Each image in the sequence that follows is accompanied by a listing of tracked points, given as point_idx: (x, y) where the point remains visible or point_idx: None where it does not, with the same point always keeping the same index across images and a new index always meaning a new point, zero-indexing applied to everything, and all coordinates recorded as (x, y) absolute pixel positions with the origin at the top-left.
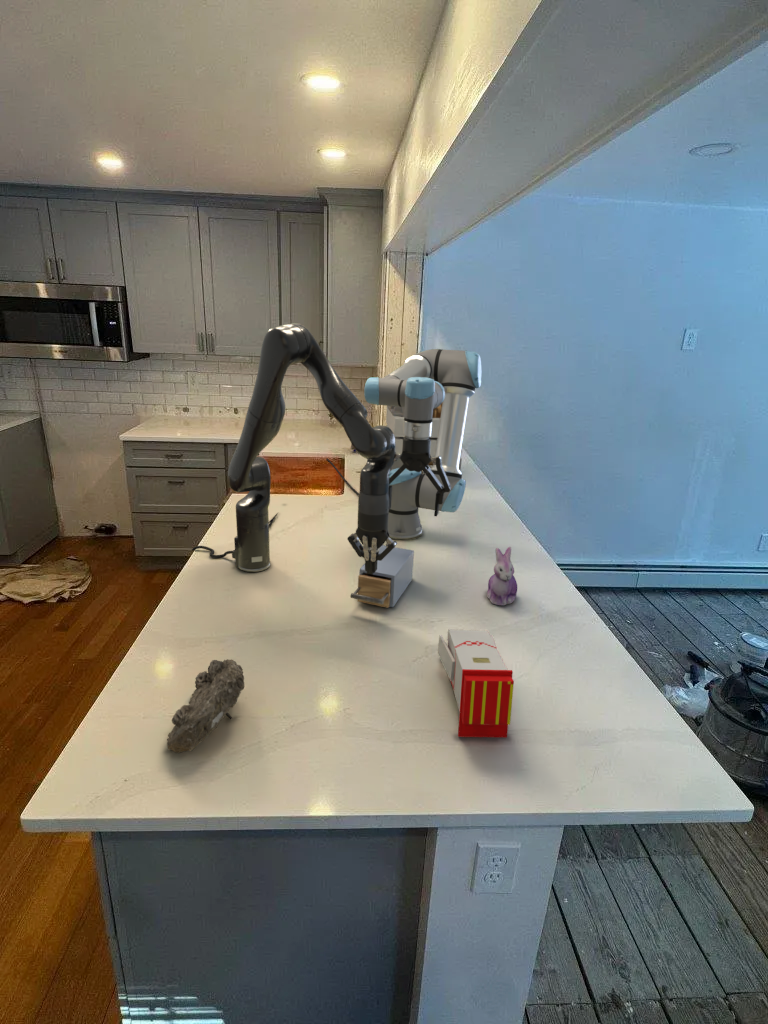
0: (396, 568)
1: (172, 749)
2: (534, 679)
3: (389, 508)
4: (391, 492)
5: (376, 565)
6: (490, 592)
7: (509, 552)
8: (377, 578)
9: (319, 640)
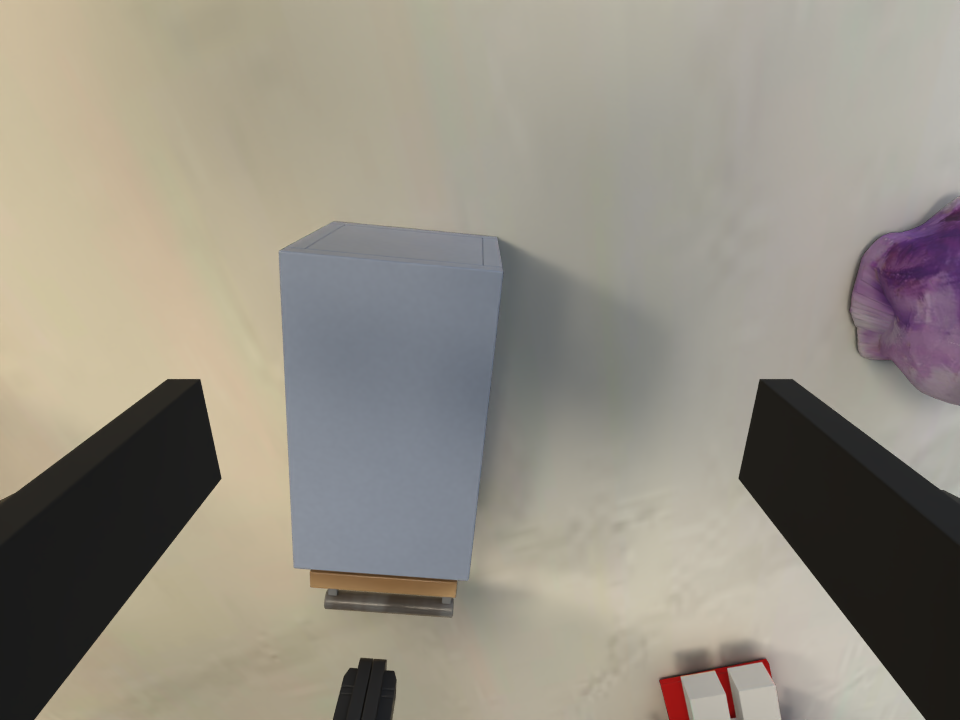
0: (458, 517)
1: None
2: (888, 684)
3: (209, 461)
4: (56, 520)
5: (392, 707)
6: (878, 327)
7: None
8: (396, 584)
9: (322, 681)
